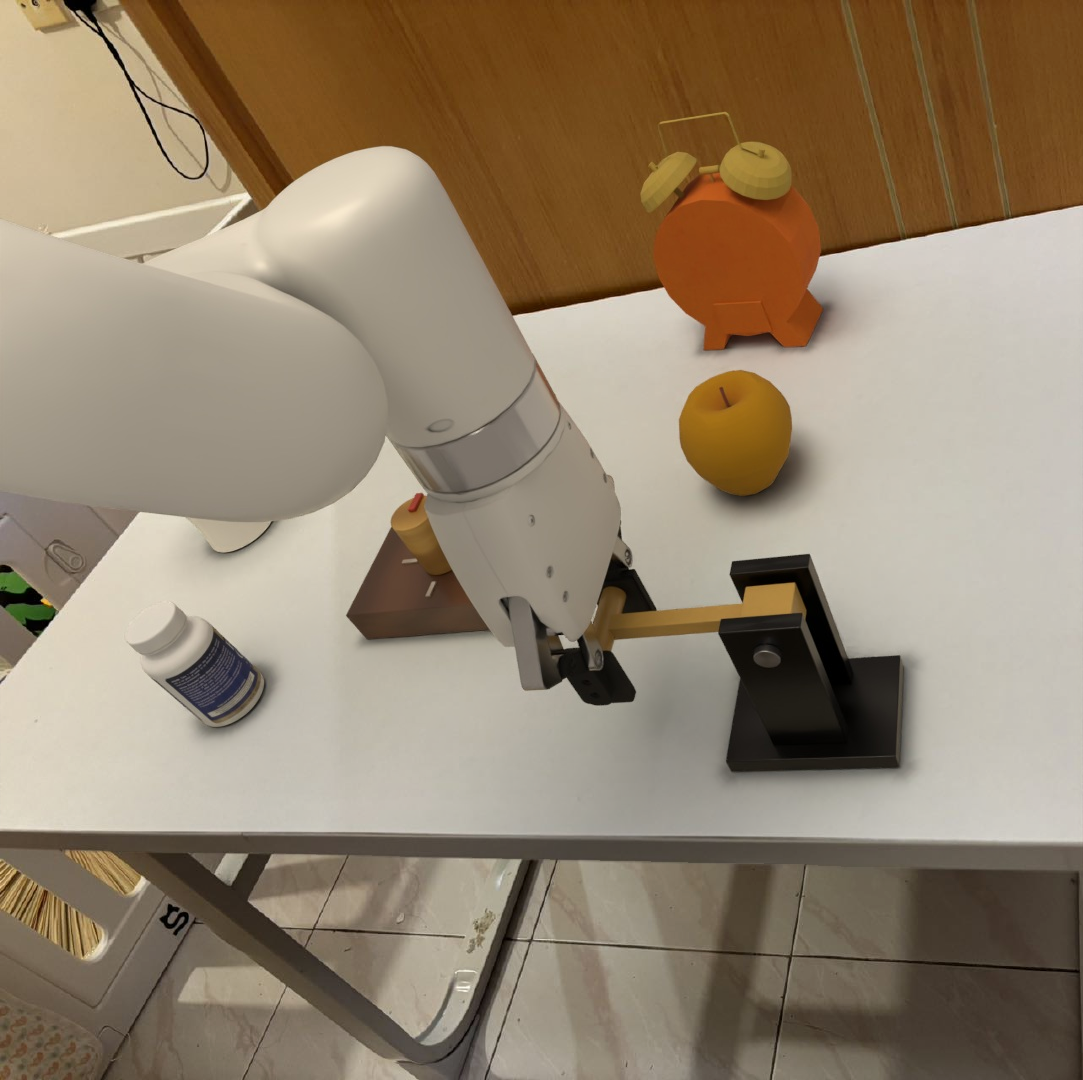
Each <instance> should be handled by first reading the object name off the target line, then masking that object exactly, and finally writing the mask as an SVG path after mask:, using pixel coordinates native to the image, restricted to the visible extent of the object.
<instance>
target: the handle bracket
mask: <svg viewBox="0 0 1083 1080" xmlns="http://www.w3.org/2000/svg"><path fill="white" fill-rule="evenodd" d="M728 574H729V577H730V580H731V582H732V583H733V585H734V588H735V590H736V593H737V594H738V597H739V599H740V601H741V604H742V603H743V599H744V593H745V588H746V587H750V586H761V585H772V584H783V583H796V586H797V588H798V591H799V593H800V596H801V598H802V601H803V603H804V606H805V608H806V618H805V619H804V616H803V614H802V613H790V614H777V615H764V616H751V617H738V618H725V619H721V621H720V626H719V631H718V632H717V634H718V636H719V639H720V640H721V642H722V645H723V646H724V649H725V651H726V652H727V655H728V656H729V658H730V661H731V662H732V664H733V667H734V669H735V671H736V673H737V675H738V677H739V682H738V687H737V694H736V700H735V704H734V712H733V716H732V722H731V729H730V733H729V740H728V746H727V751H726V758H725V763H726V765H727V766H728V768H729V770H730V772H732V773H738V772H740V773H741V772H743V773H744V772H777V771H778V772H779V771H782V772H783V771H784V772H785V771H818V770H819V771H820V770H822V771H823V770H856V769H857V770H859V769H862V770H863V769H896V768H897V769H898V768H900V766H901V765H900V763H901V744H902V743H901V742H902V741H901V739H902V719H903V717H902V715H903V697H904V696H903V694H904V693H903V690H904V673H905V672H904V668H905V665H904V663H903V659H902V657H901V655H900V654H898V655H897V654H896V655H895V654H894V655H881V656H863V657H862V656H861V657H849V656H848V653H847V651H846V649H845V646H844V643H843V640H842V637H841V634H840V632H839V629H838V627H837V624H836V621H835V618H834V615H833V613H832V610H831V606H830V605H829V602H828V598H827V596H826V594H825V592H824V589H823V586H822V583H821V580H820V577H819V575H818V572H817V569H816V566H815V564H814V561H813V559H812V556H811V554H810V553H802V554H792V555H783V556H782V555H781V556H772V557H771V556H770V557H761V558H753V559H751V558H749V559H740V560H732V561H731V565H730V570H729V573H728Z"/></svg>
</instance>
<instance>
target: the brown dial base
mask: <svg viewBox="0 0 1083 1080" xmlns="http://www.w3.org/2000/svg"><path fill="white" fill-rule="evenodd" d="M345 617H346V618H347V619H348V620H349V621H350V623H351V624H352V625H353V626H354V627H355V628H356V629H357V630H358V631H359V633H360V634H361V635H362V636H363V637H364V639H366V640H376V639H389V638H401V637H402V638H403V637H413V636H414V637H415V636H427V635H437V634H438V635H439V634H440V635H441V634H450V633H451V634H452V633H462V632H463V633H464V632H475V631H477V632H478V631H487V630H489V631H490V629H489V628H488V626H487V625H486V624H485V622H484V621H483V619H482V618H481V616H480V615H479V613H478V612H477V610H476V609H475V607H474V605H473V604H472V602H471V601H470V599H469V598H468V596H467V594H466V593H465V591H464V589H463V588H462V586H461V584H460V583H459V581H458V579H457V577H456V576H455V574H454V572H453V570H451V571H449V572H447V573H444V574H441V575H431V574H428V573H427V572H426V571H425V570H424V569H423V567H422V566H421V565H420V563H419V562H418V561H417V559H416V558H415V557H414V555H413V554H412V553H411V552H410V550H409V549H408V548H407V546H406V545H405V544H404V542H403V541H402V540H401V538H400V537H399V536H398V534H397V533H396V532H395V531H394V529H393V528H392V526H391V525H390V528H389V530H388V533H387V534H386V535H385V538H384V540H383V542H382V544H381V546H380V548H379V550H378V552H377V553H376V556H375V558H374V560H373V561H372V564H371V565H370V567H369V570H368V572H367V573H366V575H365V577H364V579H363V581H362V583H361V585H360V587H359V589H358V591H357V593H356V595H355V596H354V599H353V601H352V602H351V605H350V606H349V608H348V611H347V612H346V615H345Z"/></svg>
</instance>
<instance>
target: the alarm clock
mask: <svg viewBox="0 0 1083 1080" xmlns="http://www.w3.org/2000/svg"><path fill="white" fill-rule="evenodd" d="M720 115H725V116H726V117H727V119H728V122H729V124H730V127H731V129H732V132H733V136H734V138H735V140H736V143H737V144H736V145H735V146H733V147H731V148H730V149H729V150H728V151H727V152H726V153H725V155H724V157H723V158H722V161H721V162H720V164H716V165H708V166H700V167H699V168H698V173H699V175H697V176H696V177H695V178H694V179H692V180H691V181H689V182H688V183H687V185H686V186H685V187H684V189H683V191H682V190H681V189H680V188H679V186H680V184H681V183H683V181H684V180H685V179H686V178H687V176H688V175H689V174H690V173H691V171H692V170H693V168H694V167H695V165H696V163H697V161H698V159H697V158H696V157H694V156H693V155H691V154H689V153H688V152H683V151H676V152H674V153H672V154H669V153H668V150H667V147H666V143H665V140H664V139H665V138H664V136H663V132H662V129H661V126H660V125H663V124H669V123H675V122H682V121H689V120H695V119H701V118H707V117H714V116H720ZM657 130H658V133H659V137H660V140H661V144H662V147H663V151H664V153H665V157H664V158H663V159H661V161H659V162H658V164H656V163H654V161H651V162H650V163H649V164H648V166H647V167H648V168H649V169H650V170H651V171H652V172H651V173H650V174H649V176H648V177H647V178H646V179H645V181H644V182H643V185H642V187H641V190H640V193H639V195H640V201H641V204H642V206H643V208H644V209H645V211H646V212H647V214H650V213H652V212H653V211H655V210H656V209H657V208H658V207H659V206H660V205H662V204H663V203H664V202H665V201H666V199H668V197H670V196H671V194H673V193H674V194H675V195H676V196H677V197H678V198H677V199H676V200H675V202H674V204H673V205H672V207H671V208H670V210H669V211H668V212H667V214H666V215H665V216H664V218H663V220H662V222H661V224H660V226H659V228H658V230H657V232H656V233H655V235H654V242H653V252H652V253H653V254H652V257H653V261H654V266H655V270H656V274H657V278H658V280H659V281H660V283H661V285H662V286H663V288H664V290H665V292H666V293H667V295H668V297H669V298H670V299H671V300H672V301H673V302H674V304H676V306H677V307H679V309H681V310H682V311H683V313H685V314H686V315H687V316H689V317H690V318H692V319H693V320H695V321H696V322H698V323H699V324H701V325H703V326H705V327H704V339H703V348H702V349H703V351H715V350H725V348H726V346H727V344H728V343H729V341H730V339H731V337H732V336H733V335H734V336H735V335H736V336H743V337H745V336H746V337H751V336H756V335H762V334H767V333H770V334H771V336H772V337H774V338H775V340H777V341H778V342H779V343H780V345H782V347H783V348H791V347H794V348H795V347H806V346H807V345H808V343H809V340H810V339H811V336H812V334H813V332H814V330H815V328H816V325H817V324H818V322H819V319H820V317H821V315H822V314H823V313H822V312H823V310H824V308H823V307H822V306H821V304H820V303H819V301H818V300H817V299H816V298H815V296H814V295H813V294H812V293H811V291H810V290H809V289H808V288H809V285H810V283H811V281H812V279H813V277H814V275H815V273H816V271H817V269H818V268H817V267H818V264H819V260H820V257H821V253H822V245H821V238H820V237H821V236H820V227H819V226H818V223H817V220H816V219H815V216H814V213H813V212H812V210H811V207H810V205H809V204H808V203H807V201H806V200H805V199H804V198H803V197H802V196H801V194H800V193H799V192H798V191H797V190H796V188H795V187H794V186H792V181H793V179H792V175H793V173H792V172H793V171H792V168H791V165H790V163H789V161H788V160H787V158H786V156H785V155H784V154H783V153H782V152H781V151H780V150H778V149H777V148H776V147H774V146H773V145H770V144H767V143H764V142H760V141H746V142H745V141H744V142H741V141H740V139H739V136H738V134H737V131H736V129H735V126H734V124H733V121H732V118H731V116H730V114H729V113H728V112H727V111H721V112H715V113H714V112H713V113H708V114H702V115H696V116H689V117H683V118H677V119H670V120H664V121H659V123H658V124H657ZM668 154H669V155H668Z"/></svg>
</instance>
